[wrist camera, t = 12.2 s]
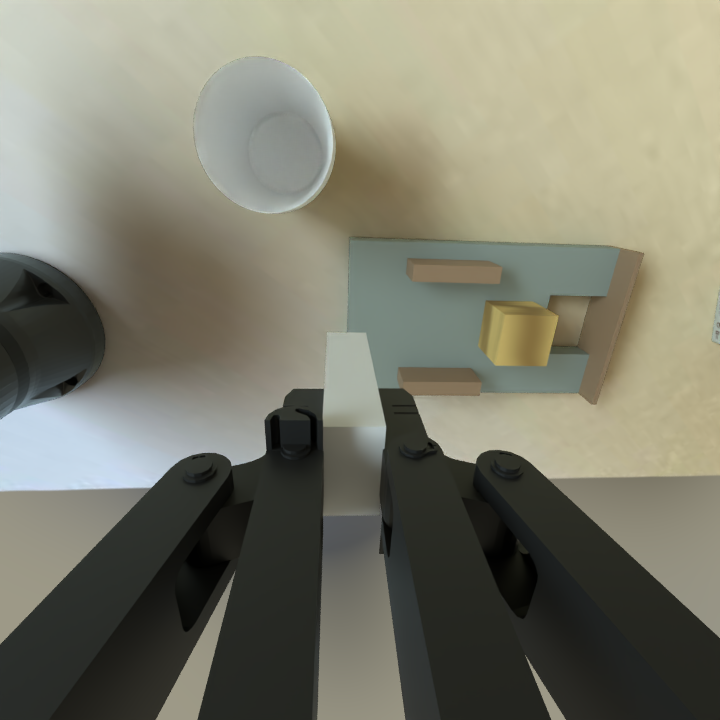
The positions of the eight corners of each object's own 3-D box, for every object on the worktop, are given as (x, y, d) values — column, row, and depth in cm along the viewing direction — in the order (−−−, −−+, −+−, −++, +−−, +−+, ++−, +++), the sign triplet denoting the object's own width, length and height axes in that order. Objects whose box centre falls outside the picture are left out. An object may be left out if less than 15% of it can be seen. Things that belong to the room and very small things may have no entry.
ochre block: (477, 346, 42) (495, 365, 37) (485, 300, 40) (505, 314, 35) (523, 346, 42) (546, 366, 38) (533, 301, 40) (558, 316, 36)
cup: (349, 187, 37) (355, 187, 26) (261, 221, 38) (232, 235, 27) (313, 79, 34) (302, 26, 23) (217, 119, 34) (161, 87, 23)
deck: (345, 381, 45) (347, 407, 40) (349, 237, 39) (352, 244, 34) (570, 383, 47) (601, 408, 42) (609, 245, 41) (651, 254, 35)
